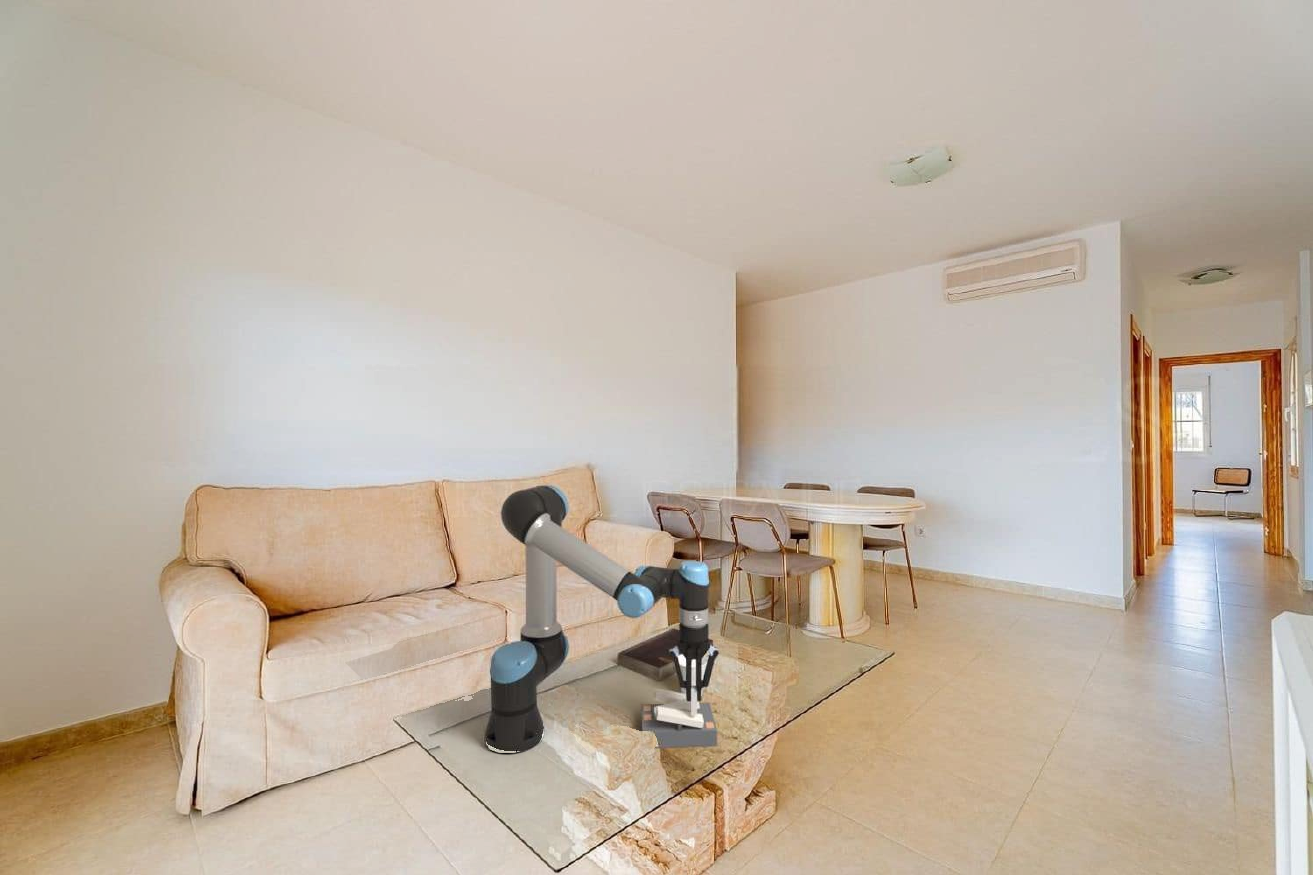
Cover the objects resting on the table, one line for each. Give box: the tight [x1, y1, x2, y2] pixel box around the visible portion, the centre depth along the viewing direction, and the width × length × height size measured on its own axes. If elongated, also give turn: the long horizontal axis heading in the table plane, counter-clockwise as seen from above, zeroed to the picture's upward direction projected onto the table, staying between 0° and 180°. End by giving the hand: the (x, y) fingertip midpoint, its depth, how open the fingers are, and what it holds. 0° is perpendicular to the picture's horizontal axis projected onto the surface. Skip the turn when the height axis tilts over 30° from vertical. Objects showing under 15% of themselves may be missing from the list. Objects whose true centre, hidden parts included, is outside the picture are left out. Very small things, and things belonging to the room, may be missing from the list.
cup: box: [678, 654, 708, 697], centre depth 168 cm, size 10×10×11 cm
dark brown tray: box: [617, 628, 714, 683], centre depth 194 cm, size 29×19×5 cm, turn 138°
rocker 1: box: [654, 687, 700, 704], centre depth 153 cm, size 12×4×2 cm, turn 94°
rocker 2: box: [656, 706, 704, 728], centre depth 144 cm, size 12×4×2 cm, turn 93°
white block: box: [654, 698, 700, 720], centre depth 148 cm, size 12×4×2 cm, turn 92°
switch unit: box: [640, 702, 718, 749], centre depth 149 cm, size 19×14×6 cm
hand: (693, 712), depth 144 cm, fingers closed
